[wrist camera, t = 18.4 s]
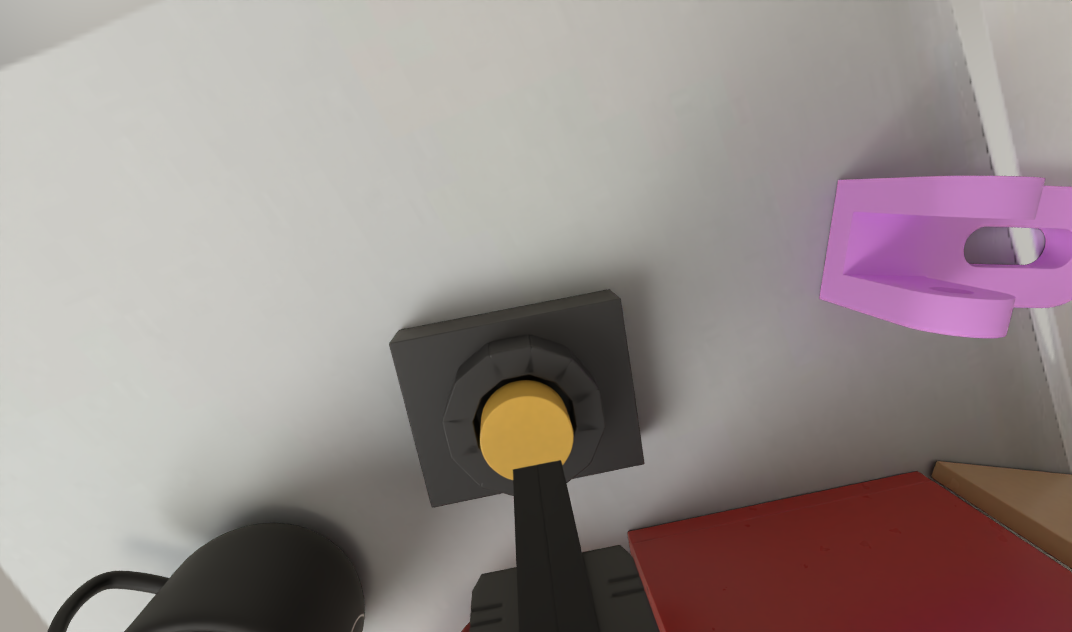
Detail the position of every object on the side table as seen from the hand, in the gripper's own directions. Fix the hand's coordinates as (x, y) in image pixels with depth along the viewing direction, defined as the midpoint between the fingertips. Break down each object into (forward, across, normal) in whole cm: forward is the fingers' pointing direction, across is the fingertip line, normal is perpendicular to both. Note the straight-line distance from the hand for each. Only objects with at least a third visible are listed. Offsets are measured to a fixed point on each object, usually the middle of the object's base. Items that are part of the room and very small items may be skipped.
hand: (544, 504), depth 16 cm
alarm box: (+9, 0, 0) cm, 9 cm away
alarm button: (+6, 0, 0) cm, 6 cm away
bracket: (+10, +22, +3) cm, 24 cm away
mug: (+10, -15, -7) cm, 19 cm away
